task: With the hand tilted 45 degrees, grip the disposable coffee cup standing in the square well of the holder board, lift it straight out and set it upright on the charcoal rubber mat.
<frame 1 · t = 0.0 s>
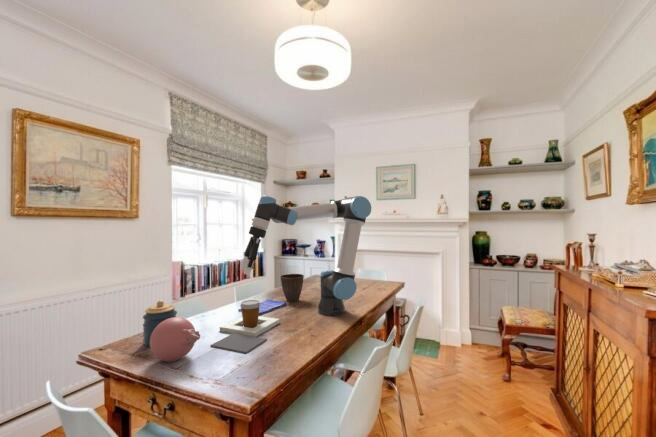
hand: (244, 272, 141), 28 cm above the table, tool tilted 20°, fingers open, 13 cm apart
holder board: (250, 326, 148), on the table
canister: (160, 342, 132), on the table
plant pot: (292, 301, 195), on the table
balloon: (178, 360, 114), on the table
rubber mat: (239, 343, 129), on the table
disposable coffee cup: (250, 327, 148), resting in holder board
dish towel: (263, 309, 180), on the table
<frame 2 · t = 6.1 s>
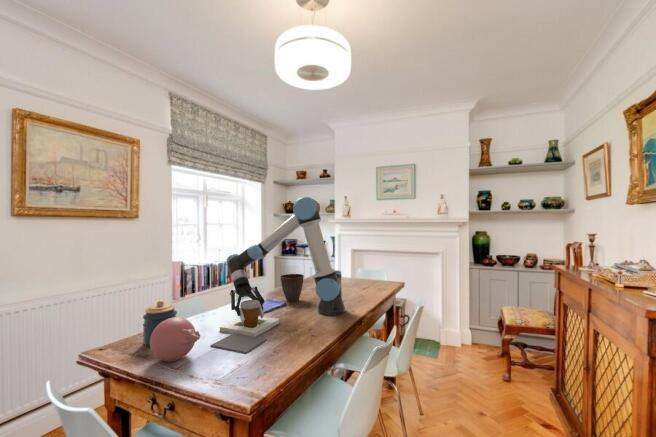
hand: (253, 319, 146), 5 cm above the table, tool tilted 45°, fingers closed on disposable coffee cup, 9 cm apart
disposable coffee cup: (250, 327, 148), resting in holder board, touching gripper
everything else where it was.
when the fingers open (7 cm above the table, at t = 12.8 s): disposable coffee cup drops 1 cm, resting on rubber mat.
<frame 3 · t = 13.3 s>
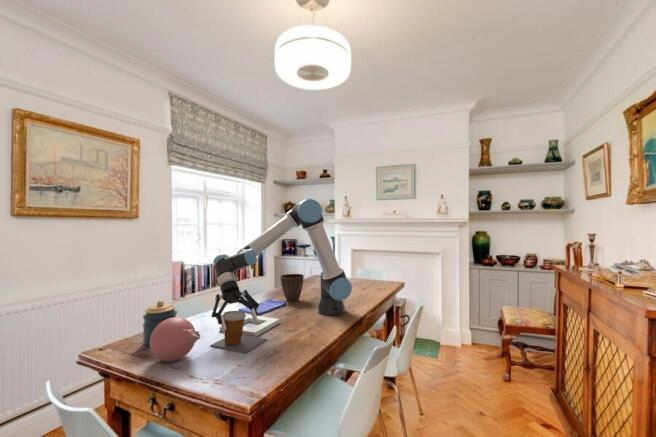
hand: (241, 326, 127), 8 cm above the table, tool tilted 45°, fingers open, 13 cm apart
disposable coffee cup: (232, 342, 127), point 1 cm above the table, touching gripper, rubber mat
everything else where it was.
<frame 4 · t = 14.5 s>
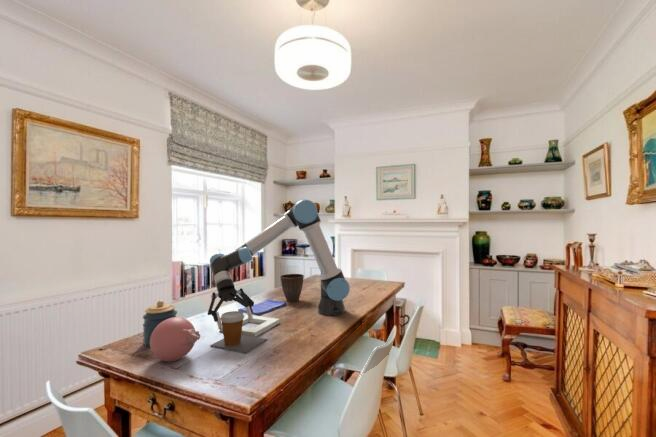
hand: (236, 324, 130), 8 cm above the table, tool tilted 45°, fingers open, 13 cm apart
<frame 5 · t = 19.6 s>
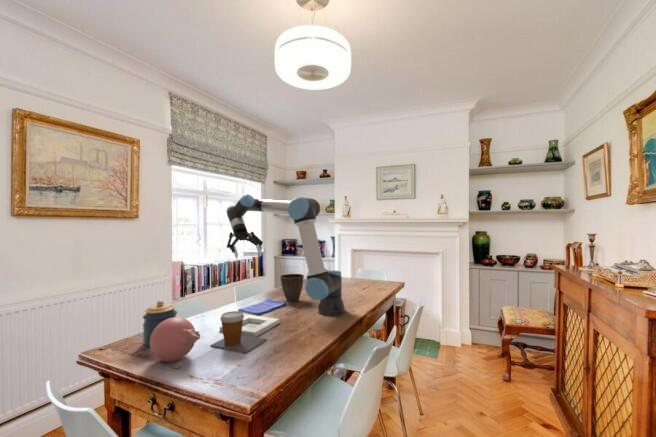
hand: (249, 255, 165), 33 cm above the table, tool tilted 45°, fingers open, 13 cm apart
disposable coffee cup: (232, 343, 127), resting on rubber mat
everything else where it was.
at the end: disposable coffee cup inside the target area on the rubber mat (2.7 cm from its centre), point 0.4 cm above the rubber mat's base; disposable coffee cup tilted 0°; the gripper is holding nothing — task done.
